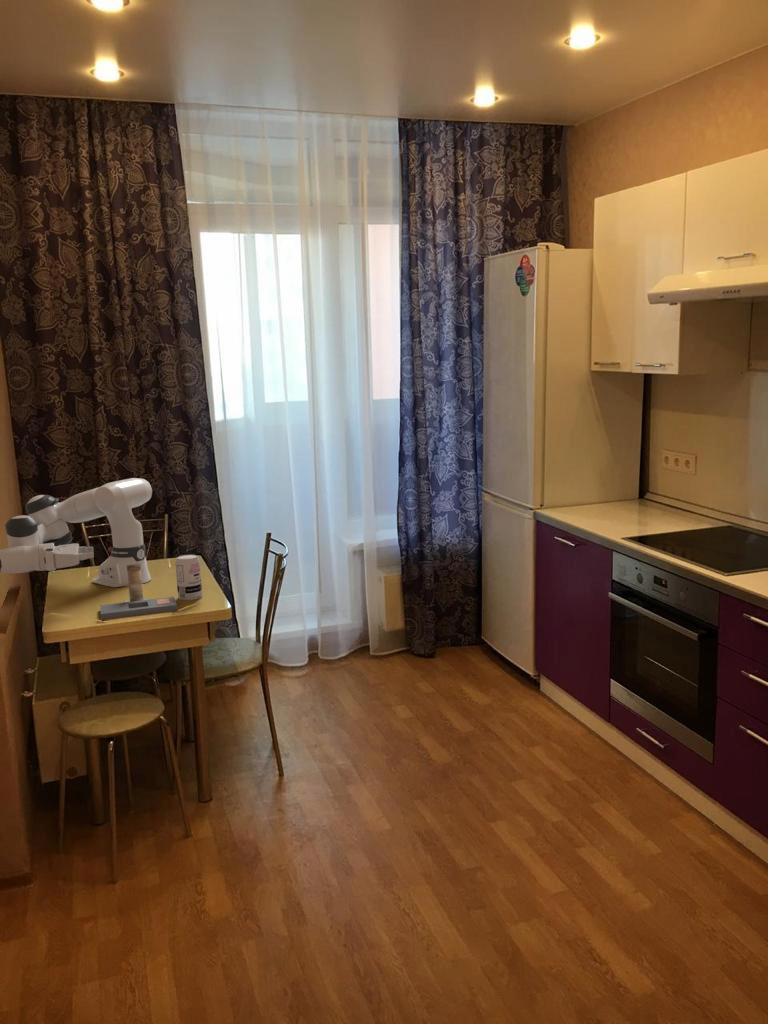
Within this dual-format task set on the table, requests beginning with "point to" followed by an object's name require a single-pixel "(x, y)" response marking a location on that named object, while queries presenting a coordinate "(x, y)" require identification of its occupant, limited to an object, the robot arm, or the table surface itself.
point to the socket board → (138, 607)
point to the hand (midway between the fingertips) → (93, 552)
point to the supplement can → (188, 577)
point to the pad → (129, 600)
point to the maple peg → (135, 582)
